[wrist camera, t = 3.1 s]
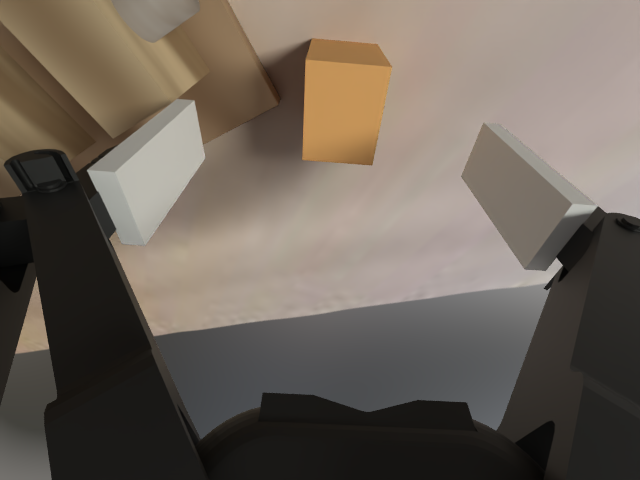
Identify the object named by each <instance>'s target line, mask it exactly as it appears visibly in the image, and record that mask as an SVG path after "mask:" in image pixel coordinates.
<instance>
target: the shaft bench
mask: <svg viewBox="0 0 640 480" xmlns="http://www.w3.org/2000/svg"><path fill="white" fill-rule="evenodd" d="M176 99H184V100H194V101H195V106H196V112H197V117H198V122H199V127H200V133H201V138H202V143H203V144H205V143H207V142H209V141H211V140H213V139H215V138H217V137H218V136H220V135H222V134H224V133H226V132H228V131H230V130H232V129H234V128H236V127H237V126H239V125H241V124H243V123H245V122H247V121H249V120H251V119H253V118H255V117H256V116H258V115H260V114H262V113H264V112H266V111H268V110H270V109H272V108H274V107H275V106H277V105H278V104H279V102H280V100H281V99H280V97H279V95H278V93H277V92H276V90H275V88H274V86H273V84H272V82H271V81H270V79H269V77H268V75H267V73H266V71H265V69H264V68H263V66H262V64H261V62H260V60H259V58H258V56H257V55H256V53H255V51H254V49H253V47H252V45H251V44H250V42H249V40H248V38H247V36H246V34H245V32H244V31H243V29H242V27H241V25H240V23H239V21H238V19H237V18H236V16H235V14H234V12H233V10H232V8H231V7H230V5H229V3H228V1H227V0H0V198H6V197H17V196H19V195H21V194H22V193H21V191H20V190H19V188H18V187H17V185H16V184H15V182H14V181H13V179H12V178H11V176H10V175H9V173H8V172H7V170H6V169H5V167H4V166H3V165H4V163H5V161H6V160H8V159H9V158H11V157H13V156H15V155H18V154H20V153H24V152H28V151H32V150H40V149H56V150H61V151H63V152H64V153H65V154H66V155H67V157H68V159H69V161H70V163H71V165H72V167H73V169H74V171H75V173H76V172H78V171H79V170H80V169H82V168H83V167H84V166H86V165H87V164H88V163H91V161H92V160H93V159H95V158H96V157H97V158H98V156H99V155H100V154H101V153H103V152H104V151H105V150H106V149H109V148H111V147H114V146H116V145H119V144H121V143H122V142H123V141H124V140H126V139H127V138H128V137H129V136H131V135H132V134H133V133H134V132H136V131H137V130H138V129H139V128H141V127H142V126H143V125H145V124H146V123H147V122H148V121H150V120H151V119H152V118H153V117H155V116H156V115H157V114H158V113H160V112H161V111H162V110H164V109H165V108H166V107H167V106H169V105H170V104H171V103H172V102H174V101H175V100H176Z"/></svg>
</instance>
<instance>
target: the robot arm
mask: <svg viewBox="0 0 640 480" xmlns="http://www.w3.org/2000/svg"><path fill="white" fill-rule="evenodd" d="M204 159H205V154H204V148H203V143H202V138H201V133H200V127H199V122H198V117H197V112H196V106H195V101H194V100H184V99H176V100H175V101H174V102H172V103H171V104H170V105H169V106H167V107H166V108H165V109H164V110H162V111H161V112H160V113H158V114H157V115H156V116H155V117H153V118H152V119H151V120H150V121H148V122H147V123H146V124H145V125H143V126H142V127H141V128H139V129H138V130H137V131H136V132H134V133H133V134H132V135H131V136H129V137H128V138H127V139H126V140H124V141H123V142H122V143H121V144H119V145H116V146H114V147H111V148H109V149H106V150H105V151H104V152H103V153H101V154H100V155H99V156H98V158H97V157H96V158H95V159H93V160H92V161H91V163H88V164H87V165H86V166H84V167H83V168H82V169H80V170H79V171H78V172H76V173H75V171H74V169H73V167H72V165H71V163H70V161H69V159H68V157H67V155H66V154H65V153H64V152H63V151H61V150H56V149H40V150H32V151H28V152H24V153H20V154H18V155H15V156H13V157H11V158H9V159H8V160H6V161H5V163H4V165H3V166H4V167H5V169H6V170H7V172H8V173H9V175H10V176H11V178H12V179H13V181H14V182H15V184H16V185H17V187H18V188H19V190H20V191H21V193H22V196H17V197H6V198H0V405H1V401H2V398H3V394H4V390H5V387H6V383H7V380H8V376H9V373H10V369H11V365H12V362H13V358H14V355H15V351H16V348H17V344H18V341H19V337H20V333H21V330H22V326H23V323H24V319H25V316H26V312H27V308H28V305H29V301H30V298H31V294H32V291H33V287H34V283H35V280H36V276H37V281H38V287H39V292H40V298H41V304H42V309H43V315H44V321H45V326H46V332H47V338H48V343H49V349H50V354H51V360H52V366H53V371H54V377H55V383H56V388H57V399H56V400H55V401H53V402H51V403H49V404H47V406H46V409H45V412H44V424H45V425H44V426H45V433H46V440H47V447H48V455H49V462H50V469H51V477H52V480H640V219H638V218H636V217H632V216H628V215H625V214H621V213H606V212H604V211H603V210H602V209H601V208H600V207H598V205H597V204H595V203H594V202H593V201H592V200H591V199H589V198H588V197H587V196H586V195H585V194H583V193H582V192H581V191H580V190H579V189H577V188H576V187H575V186H574V185H573V184H571V183H570V182H569V181H568V180H567V179H565V178H564V177H563V176H562V175H561V174H559V173H558V172H557V171H556V170H555V169H553V168H552V167H551V166H550V165H549V164H547V163H546V162H545V161H544V160H543V159H541V158H540V157H539V156H538V155H537V154H535V153H534V152H533V151H532V150H531V149H529V148H528V147H527V146H526V145H525V144H523V143H522V142H521V141H520V140H519V139H517V138H516V137H515V136H514V135H513V134H511V133H510V132H509V131H508V130H507V129H505V128H504V127H503V126H502V125H501V124H494V123H483V125H482V128H481V130H480V133H479V135H478V137H477V140H476V142H475V145H474V147H473V149H472V152H471V154H470V157H469V159H468V161H467V164H466V166H465V169H464V171H463V173H462V176H461V177H462V178H463V180H464V181H465V183H466V184H467V186H468V187H469V189H470V190H471V191H472V193H473V194H474V196H475V197H476V199H477V200H478V202H479V203H480V205H481V206H482V208H483V209H484V211H485V212H486V213H487V215H488V216H489V218H490V219H491V221H492V222H493V224H494V225H495V227H496V228H497V230H498V231H499V233H500V234H501V235H502V237H503V238H504V240H505V241H506V243H507V244H508V246H509V247H510V249H511V250H512V252H513V253H514V255H515V256H516V258H517V259H518V260H519V262H520V263H521V265H522V266H523V268H524V269H526V270H542V271H546V270H547V269H548V267H549V266H550V265H551V264H552V262H553V261H554V260H555V259H556V257H557V259H558V260H559V261H560V262H561V264H562V265H563V266H562V267H561V269H560V270H559V271H558V272H557V273H556V275H555V276H554V277H553V278H552V279H551V280H550V282H549V283H548V284H547V285H546V286H545V288H544V289H546V290H548V289H549V288H551V289H550V292H549V295H548V297H547V300H546V303H545V305H544V308H543V311H542V313H541V316H540V319H539V322H538V324H537V327H536V330H535V332H534V335H533V338H532V341H531V343H530V346H529V349H528V352H527V354H526V357H525V360H524V362H523V365H522V368H521V371H520V373H519V376H518V379H517V381H516V384H515V387H514V390H513V392H512V395H511V398H510V401H509V403H508V406H507V409H506V411H505V414H504V417H503V419H502V422H501V424H500V426H499V427H498V429H497V430H496V431H495V430H493V429H492V428H490V427H489V426H487V425H484V424H482V423H480V422H478V421H476V420H473V419H472V417H471V414H470V411H469V408H468V405H467V403H466V402H445V401H425V400H417V401H412V402H408V403H404V404H400V405H396V406H393V407H388V408H385V409H381V410H377V411H373V412H364V411H360V410H357V409H354V408H351V407H348V406H345V405H342V404H339V403H336V402H332V401H330V400H327V399H324V398H321V397H318V396H315V395H301V394H280V393H263V395H262V402H261V407H259V408H255V409H251V410H248V411H246V412H243V413H240V414H238V415H236V416H234V417H232V418H230V419H228V420H226V421H225V422H223V423H222V424H220V425H219V426H217V427H216V428H215V429H213V430H212V431H211V432H210V433H208V434H207V435H206V436H205V437H204V438H203V439H200V437H199V434H198V432H197V430H196V428H195V426H194V424H193V422H192V420H191V418H190V416H189V414H188V412H187V410H186V408H185V406H184V403H183V401H182V399H181V397H180V395H179V392H178V390H177V388H176V386H175V383H174V381H173V379H172V377H171V374H170V372H169V370H168V368H167V366H166V363H165V361H164V359H163V357H162V354H161V352H160V350H159V348H158V346H157V344H156V341H155V339H154V337H153V334H152V332H151V330H150V328H149V326H148V323H147V321H146V319H145V317H144V314H143V312H142V310H141V308H140V306H139V303H138V301H137V299H136V297H135V295H134V292H133V290H132V288H131V286H130V283H129V281H128V279H127V277H126V275H125V272H124V270H123V268H122V266H121V263H120V261H119V259H118V257H117V255H116V252H115V250H114V248H113V246H112V244H111V242H110V240H109V238H110V237H111V235H112V234H113V233H114V232H115V231H116V232H117V234H118V236H119V238H120V241H121V243H122V244H127V245H143V246H145V245H146V244H147V242H148V241H149V240H150V238H151V237H152V235H153V234H154V232H155V231H156V229H157V228H158V226H159V225H160V223H161V222H162V221H163V219H164V218H165V216H166V215H167V213H168V212H169V210H170V209H171V207H172V206H173V205H174V203H175V202H176V200H177V199H178V197H179V196H180V194H181V193H182V191H183V190H184V188H185V187H186V186H187V184H188V183H189V181H190V180H191V178H192V177H193V175H194V174H195V172H196V171H197V169H198V168H199V167H200V165H201V164H202V162H203V161H204Z"/></svg>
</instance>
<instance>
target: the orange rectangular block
mask: <svg viewBox="0 0 640 480" xmlns="http://www.w3.org/2000/svg"><path fill="white" fill-rule="evenodd" d="M391 69H392V66H391V65H390V63H389V62H388V60H387V58H386V57H385V55H384V54H383V52H382V51H381V49H380V47H379V46H378V44H370V43H358V42H347V41H335V40H324V39H312V40H311V44H310V47H309V50H308V53H307V57H306V64H305V94H304V125H303V156H302V160H309V161H322V162H335V163H348V164H361V165H372V164H373V159H374V154H375V149H376V144H377V139H378V134H379V129H380V124H381V119H382V114H383V109H384V104H385V99H386V94H387V89H388V84H389V79H390V74H391Z"/></svg>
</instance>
